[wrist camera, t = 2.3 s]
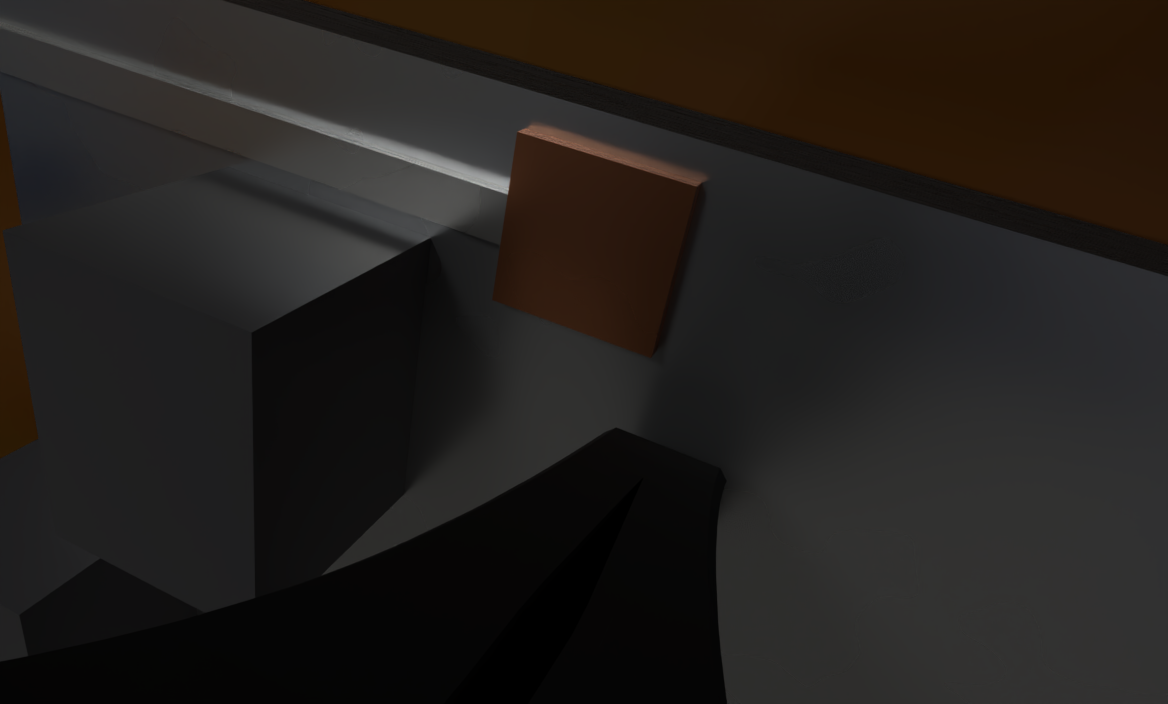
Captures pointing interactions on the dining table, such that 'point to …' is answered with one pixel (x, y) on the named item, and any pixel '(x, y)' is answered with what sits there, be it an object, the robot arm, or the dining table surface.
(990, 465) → the breaker panel
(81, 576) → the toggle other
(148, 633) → the robot arm
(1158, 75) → the dining table surface
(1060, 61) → the dining table surface
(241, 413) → the dark grey cube box
